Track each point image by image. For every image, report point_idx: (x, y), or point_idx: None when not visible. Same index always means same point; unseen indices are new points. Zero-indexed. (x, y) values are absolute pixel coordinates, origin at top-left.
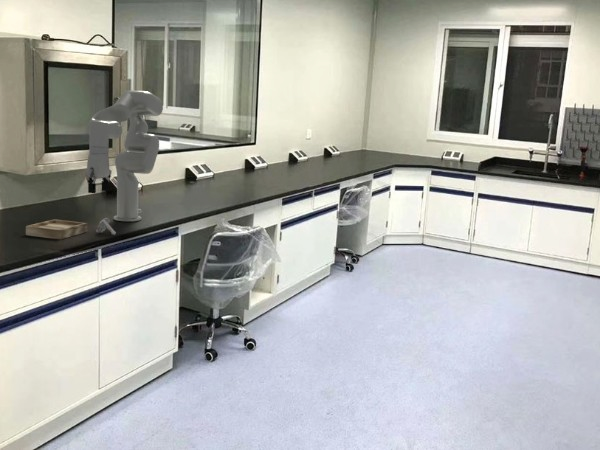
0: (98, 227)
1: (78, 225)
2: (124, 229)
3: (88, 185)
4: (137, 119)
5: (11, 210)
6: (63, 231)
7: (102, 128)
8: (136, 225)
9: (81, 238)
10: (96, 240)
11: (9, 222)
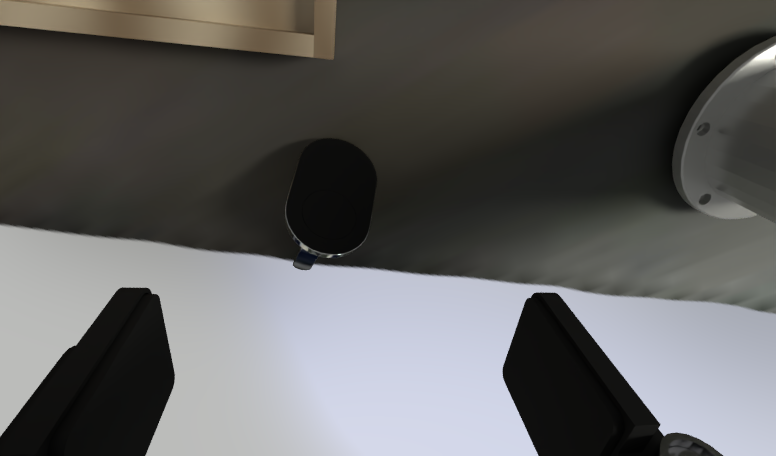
0: (294, 176)
1: (203, 45)
2: (497, 218)
3: (45, 398)
4: None
5: None
6: None
7: None
8: (630, 221)
9: (122, 131)
10: (140, 232)
11: None
